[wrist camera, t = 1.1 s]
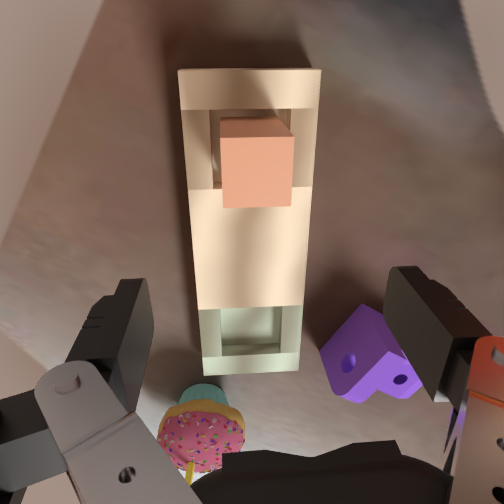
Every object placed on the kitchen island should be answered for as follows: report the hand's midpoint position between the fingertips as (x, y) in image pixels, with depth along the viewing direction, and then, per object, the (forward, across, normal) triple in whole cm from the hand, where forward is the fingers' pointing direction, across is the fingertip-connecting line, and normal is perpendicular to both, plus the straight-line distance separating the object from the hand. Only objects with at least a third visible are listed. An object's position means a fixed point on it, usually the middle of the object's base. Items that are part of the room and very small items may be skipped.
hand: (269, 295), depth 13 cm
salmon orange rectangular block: (+17, 0, -1) cm, 17 cm away
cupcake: (+19, +5, +26) cm, 32 cm away
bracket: (+19, -14, +20) cm, 31 cm away
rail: (+18, 0, +7) cm, 20 cm away
